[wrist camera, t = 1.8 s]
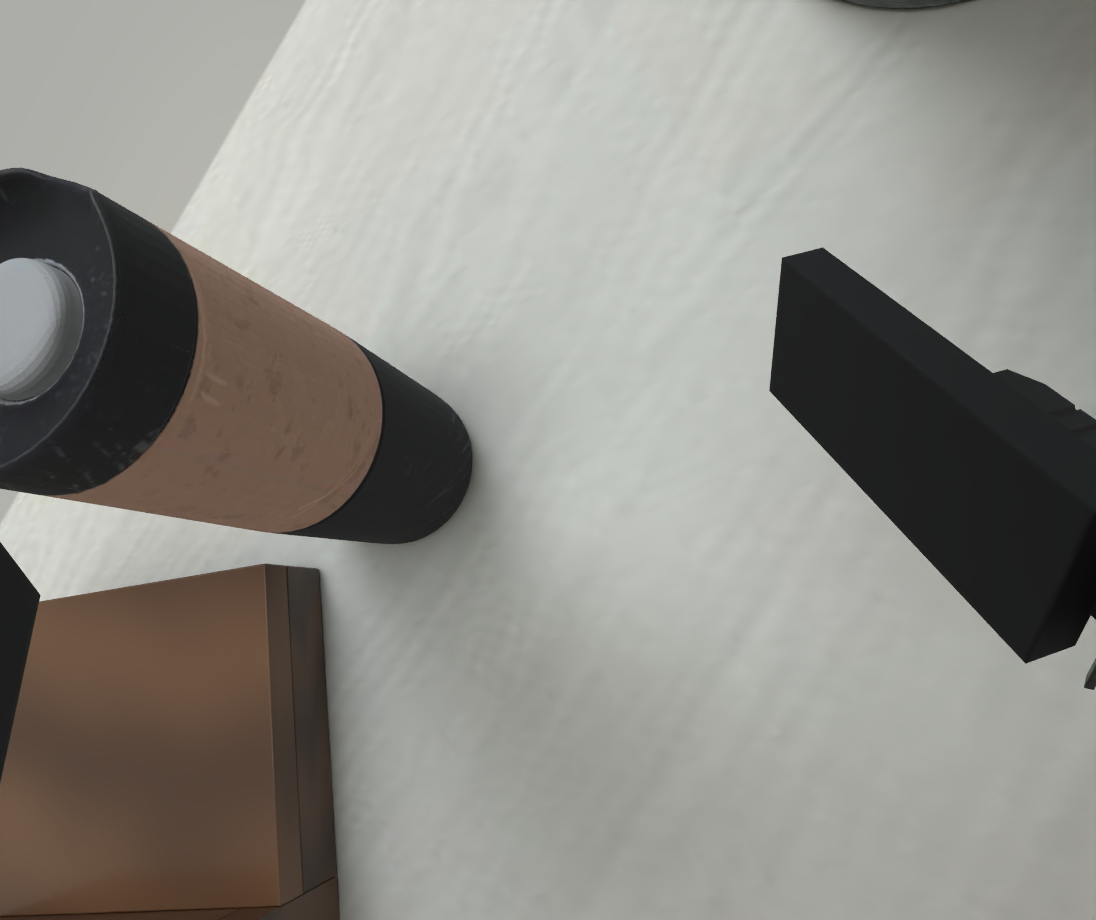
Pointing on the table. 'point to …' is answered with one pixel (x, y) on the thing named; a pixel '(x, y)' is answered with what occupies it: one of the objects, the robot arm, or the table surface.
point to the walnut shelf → (173, 755)
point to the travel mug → (199, 386)
